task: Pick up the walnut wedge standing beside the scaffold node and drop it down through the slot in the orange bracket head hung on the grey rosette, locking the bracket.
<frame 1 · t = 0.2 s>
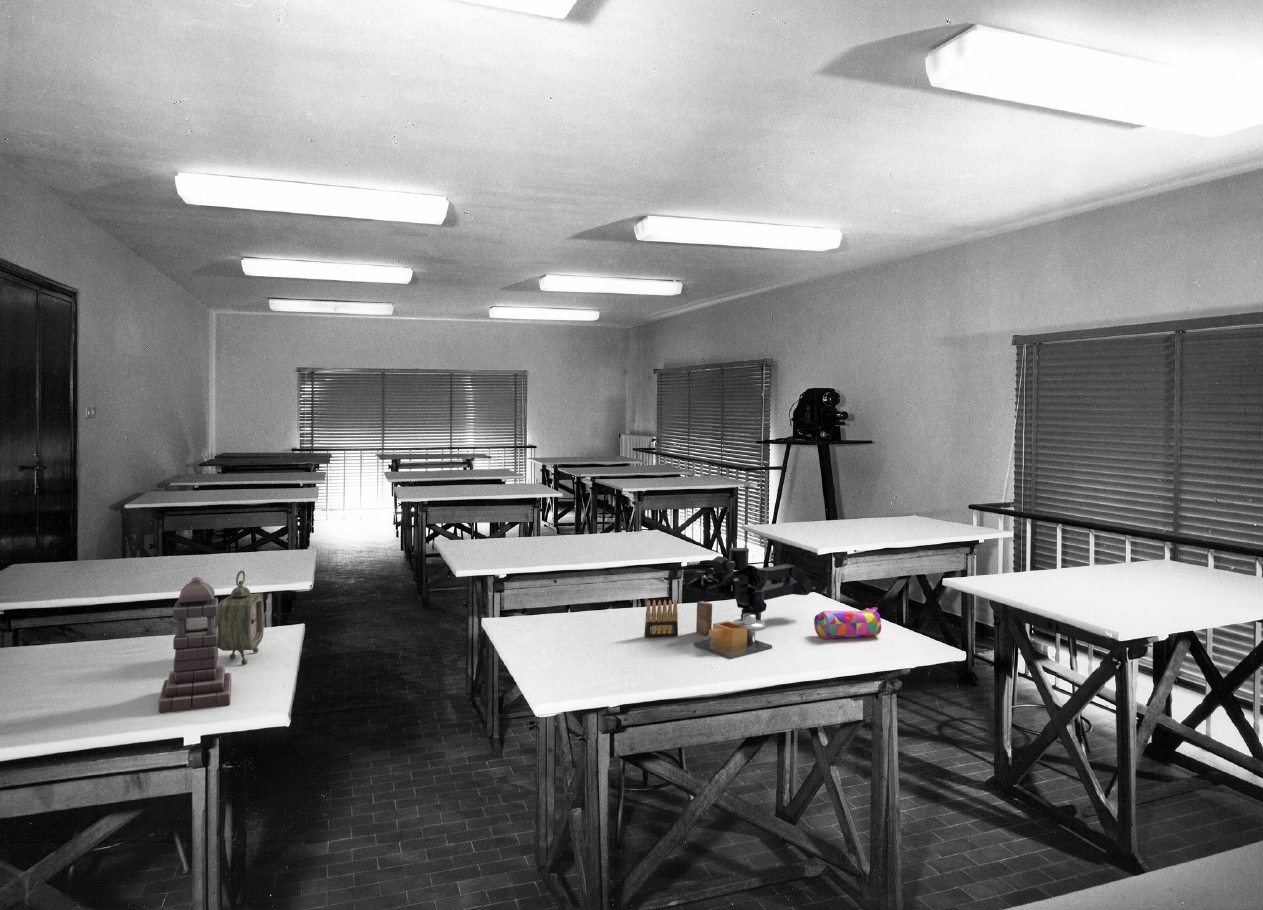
hand: (697, 588, 259), 17 cm above the table, tool horizontal, fingers open, 9 cm apart
ammunition clip: (661, 637, 263), on the table
miniature tower: (196, 699, 200), on the table
wedge: (703, 633, 268), on the table
scaffold node: (732, 646, 253), on the table
pencil case: (847, 637, 268), on the table
tabletop clock: (239, 659, 231), on the table
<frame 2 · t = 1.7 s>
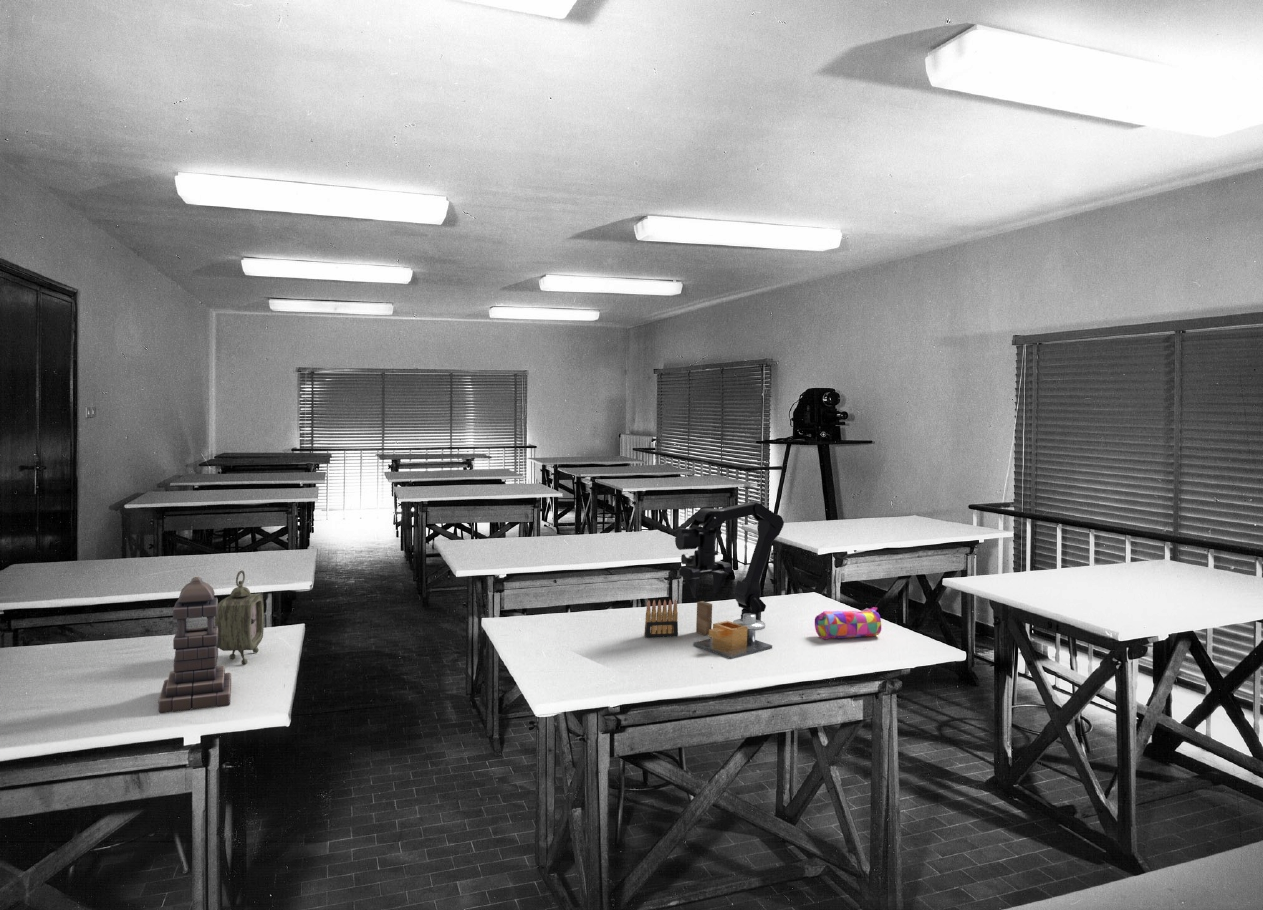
hand: (705, 595, 267), 12 cm above the table, tool pointing down, fingers open, 9 cm apart
nothing on the table moved.
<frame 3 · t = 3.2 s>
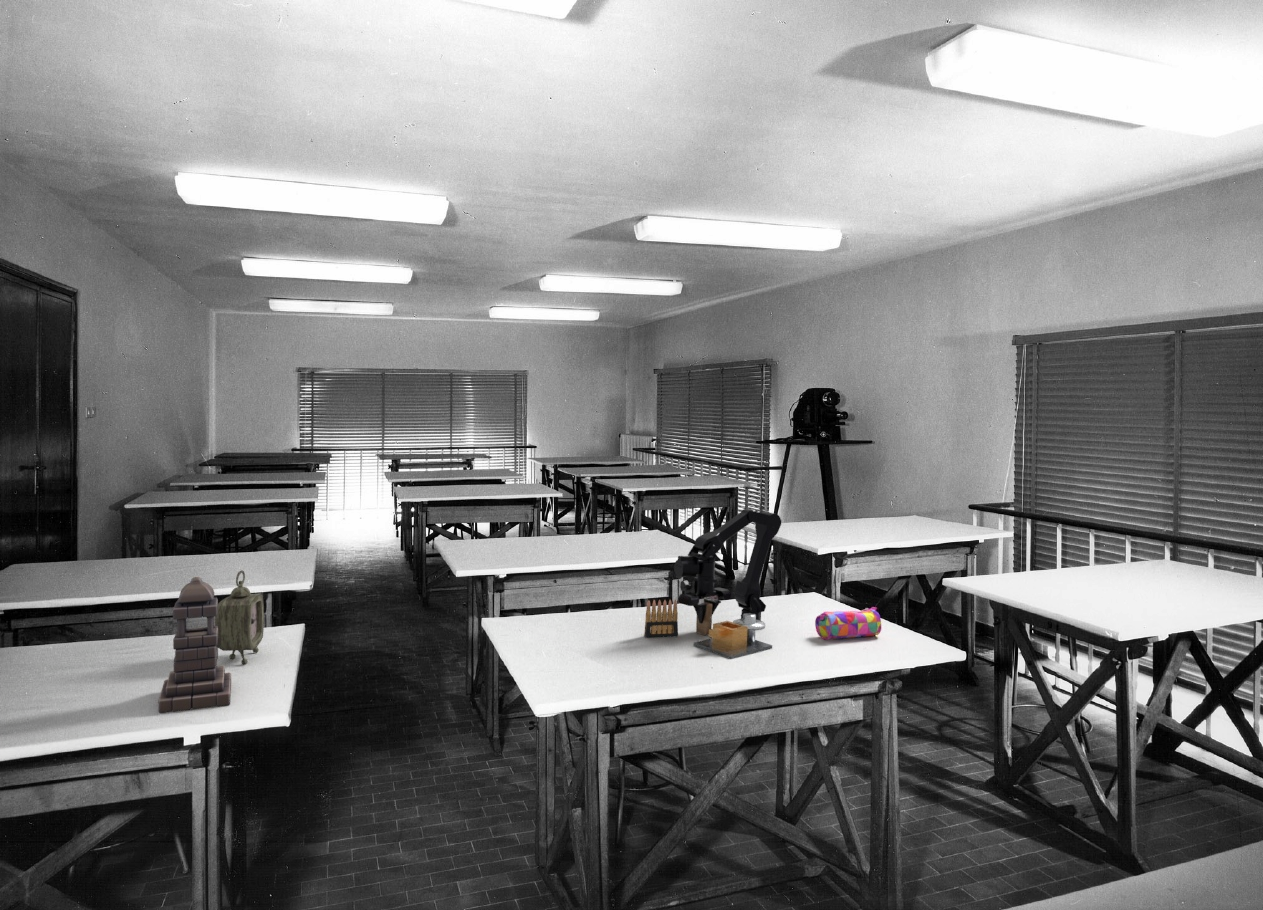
hand: (704, 622, 267), 4 cm above the table, tool pointing down, fingers closed on wedge, 2 cm apart
wedge: (703, 633, 268), on the table, touching gripper
everything else where it was.
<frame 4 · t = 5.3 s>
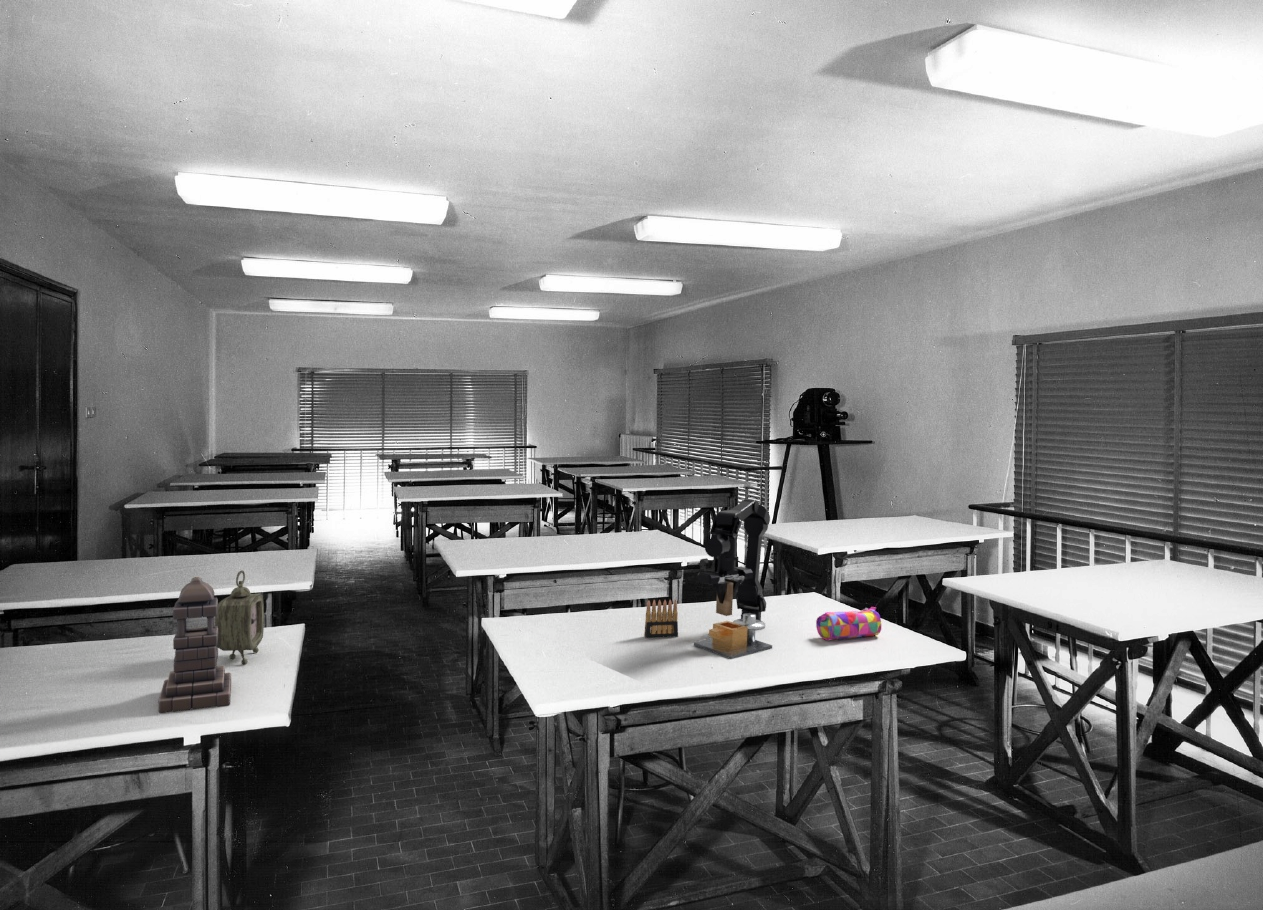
hand: (724, 602, 254), 13 cm above the table, tool pointing down, fingers closed on wedge, 2 cm apart
wedge: (724, 613, 255), point 10 cm above the table, touching gripper
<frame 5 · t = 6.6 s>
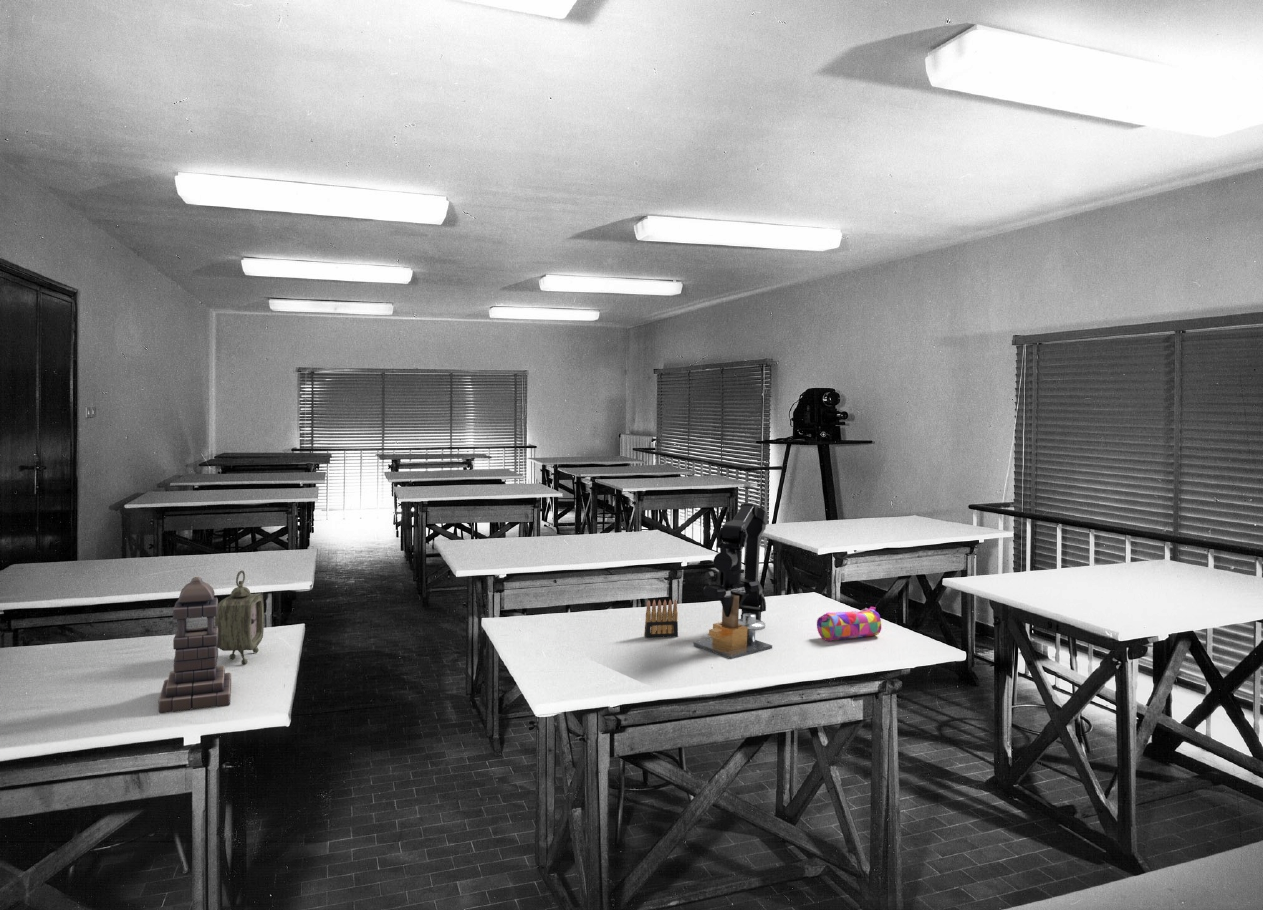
hand: (730, 616, 252), 10 cm above the table, tool pointing down, fingers closed on wedge, 2 cm apart
wedge: (729, 627, 252), point 6 cm above the table, touching gripper
when the fingers open (8 cm above the table, at t = 7.6 s): wedge drops 3 cm, resting on scaffold node.
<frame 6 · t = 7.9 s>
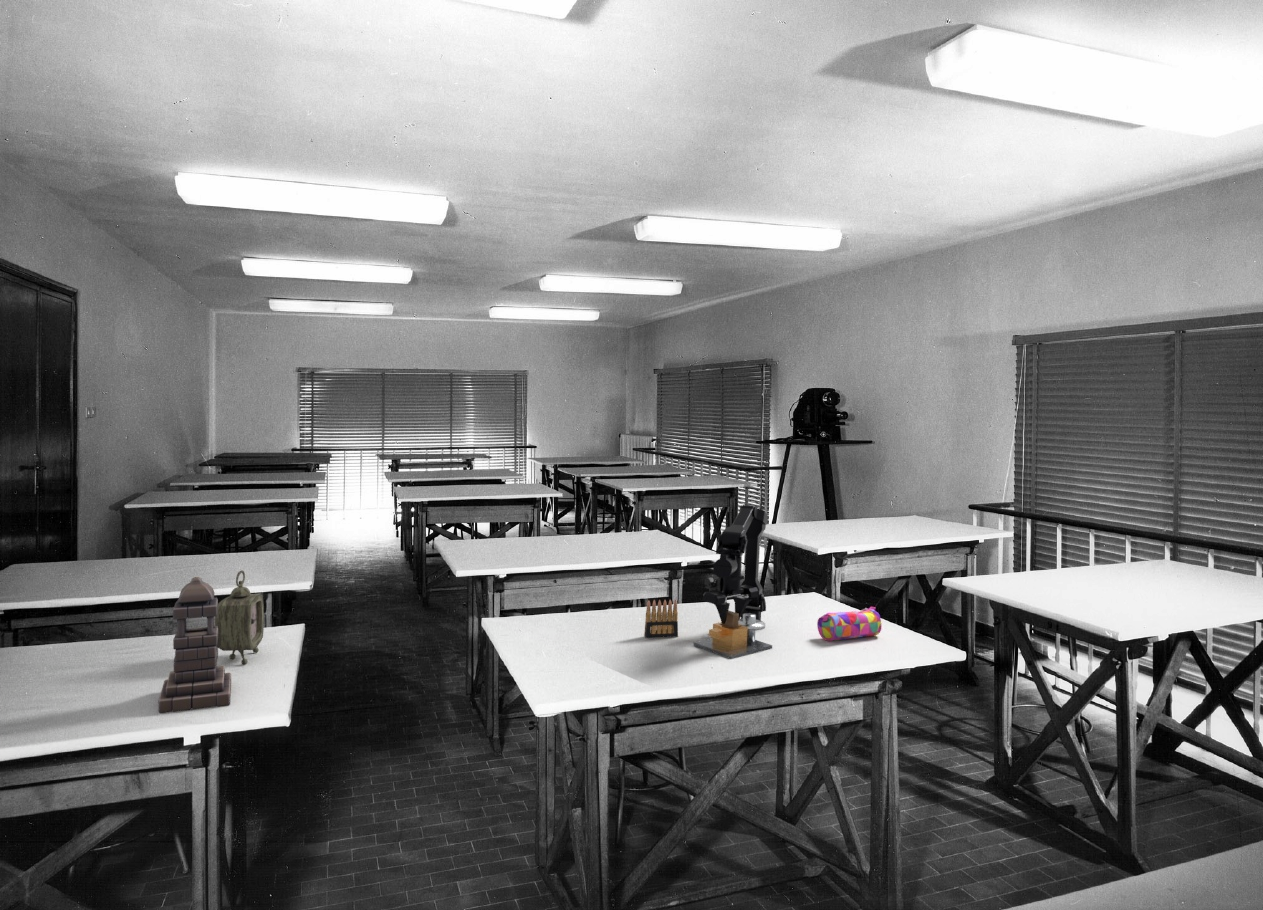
hand: (730, 622, 252), 8 cm above the table, tool pointing down, fingers open, 6 cm apart
wedge: (729, 644, 252), point 1 cm above the table, touching scaffold node
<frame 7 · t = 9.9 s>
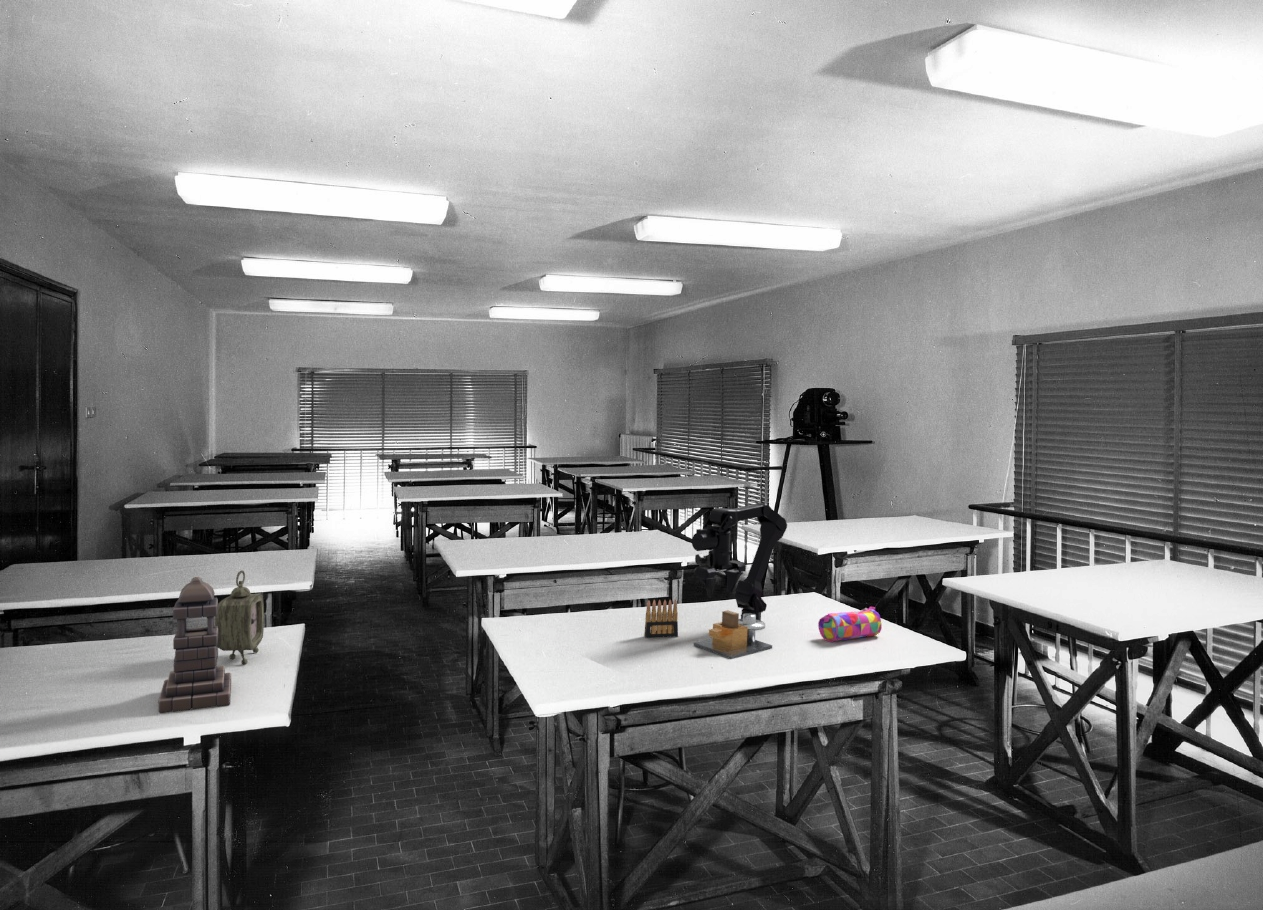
hand: (719, 595, 266), 13 cm above the table, tool pointing down, fingers open, 9 cm apart
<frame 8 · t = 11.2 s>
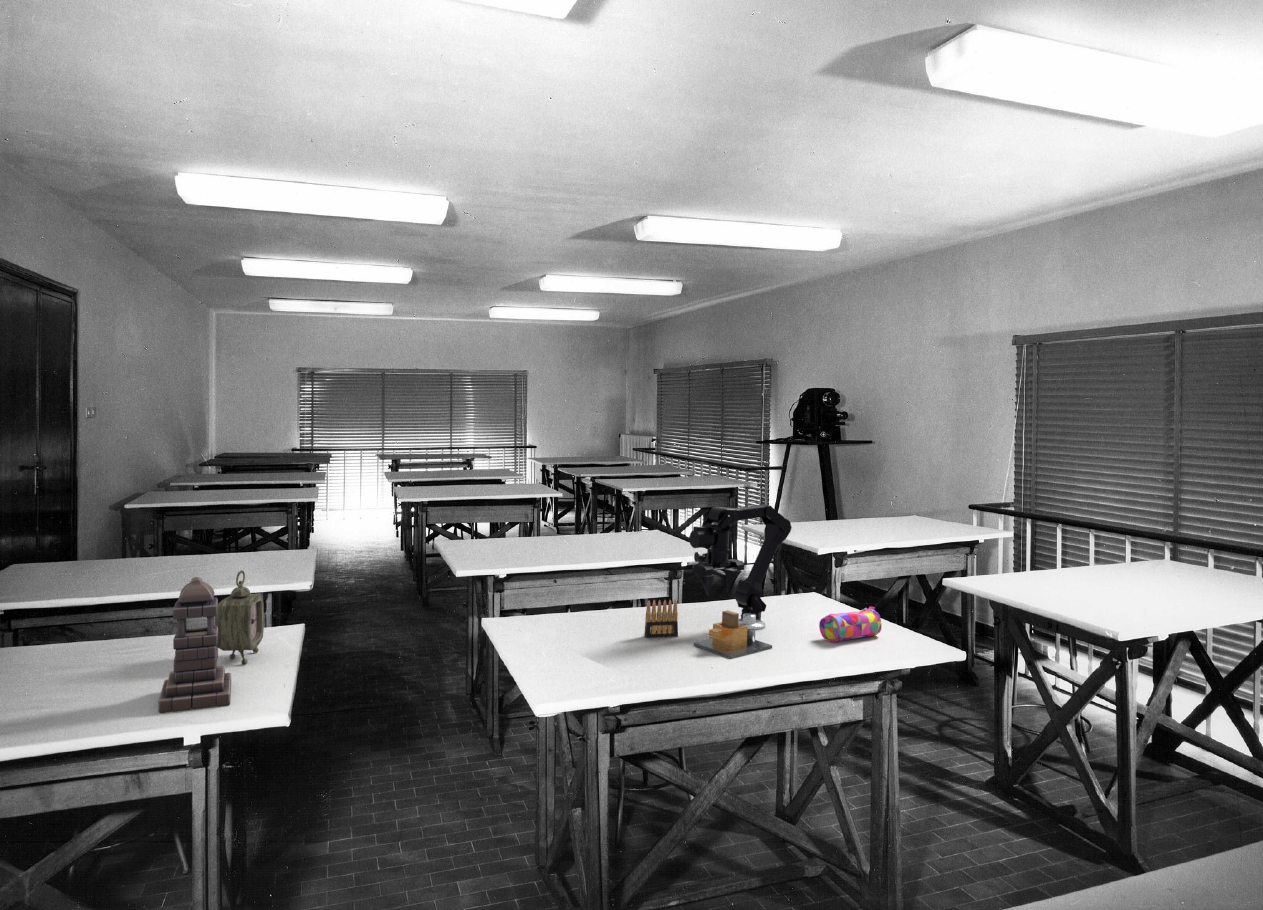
hand: (718, 593, 268), 13 cm above the table, tool pointing down, fingers open, 9 cm apart
at the end: wedge 0.1 cm from the target spot on the scaffold node, point 1.0 cm above the scaffold node's base; wedge tilted 0°; the gripper is holding nothing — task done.
